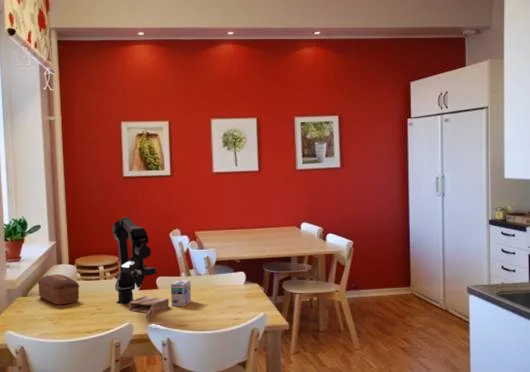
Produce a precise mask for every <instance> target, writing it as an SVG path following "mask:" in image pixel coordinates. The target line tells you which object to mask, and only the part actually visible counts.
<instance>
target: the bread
mask: <svg viewBox="0 0 530 372" xmlns="http://www.w3.org/2000/svg"><path fill="white" fill-rule="evenodd" d="M37 285H38V294H39V297H40V298H42V299H43V300H46V301H47V302H50V303H53V304H54V305H68V304H72V303H76V302H78V300H79V298H80V296H79V295H80V293H79V292H80V291H79V288H80V284H79V283H78V282H77V281H76V280H74V279H72V278H70V277H69V276H66V275H62V274H50V275H49V274H48V275H45V276H42V277H41V278H40V277H39V279H38V280H37Z"/></svg>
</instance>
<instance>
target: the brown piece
mask: <svg viewBox="0 0 530 372" xmlns="http://www.w3.org/2000/svg"><path fill="white" fill-rule="evenodd" d="M128 304H129V305H128V306H129V311H131V312H132V311H133V312H141V313H147V312H148V311H149V310H150V308H151V307H152V306H153V308H154V312H153V314H155V313H157V312H160V311H162V310H164V309H167V308H169V307H170V306H169V305H170V304H169V298H164V297H155V296H147V295H145V296H142V297H139V298H136V299H133V301H130V302H129V303H128Z"/></svg>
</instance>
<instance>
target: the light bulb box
mask: <svg viewBox="0 0 530 372" xmlns="http://www.w3.org/2000/svg"><path fill="white" fill-rule="evenodd" d="M170 292H171V293H170V295H171V296H170V297H171V306H172V307H184V306H186V305H188V304H189V303H191V301H192V298H191V297H192V294H191V280H189V279H177V280H176V281H174V282H173V283H171V284H170Z"/></svg>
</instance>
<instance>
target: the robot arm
mask: <svg viewBox="0 0 530 372" xmlns="http://www.w3.org/2000/svg"><path fill="white" fill-rule="evenodd" d="M111 231H112V233H113V238H114V239H115V240H116V242H117V249H118V251H117V252H118V260H119V261H118V262H119V272H118V274H117V276H116V277H117V280H116V282H115V285H114V287H115V288H114V289H115V291H116V292H117V294H118V295H117V296H118V297H117V298H118V299H117V301H116V303H118V304H124V305H126V304H129V302H130V301H133V300H134V296H133V294H134V293H133V290H135V287H136V288H140V287H141V285H142V283H143V281H144V279H145V278H146V277H149V276H152V275H157V269H156V267H151V266H147V264H145V259H147V258H149V257H150V256H151V254H152V251H151V248H150V247H149V246H148V245H147V244H149V240H150V239H149V236H148V233H147V231H146V229H145V228H144V227H143V226H140V225H137V224H135V223H134V221H132V219H131V217H121V218H119V220H117V221H116V222H114V223H113V225H112V227H111ZM128 239H129V242H130V244H131V245H130V246H131V249H130V250H131V256H129V250H128V249H129V248H128Z"/></svg>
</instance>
